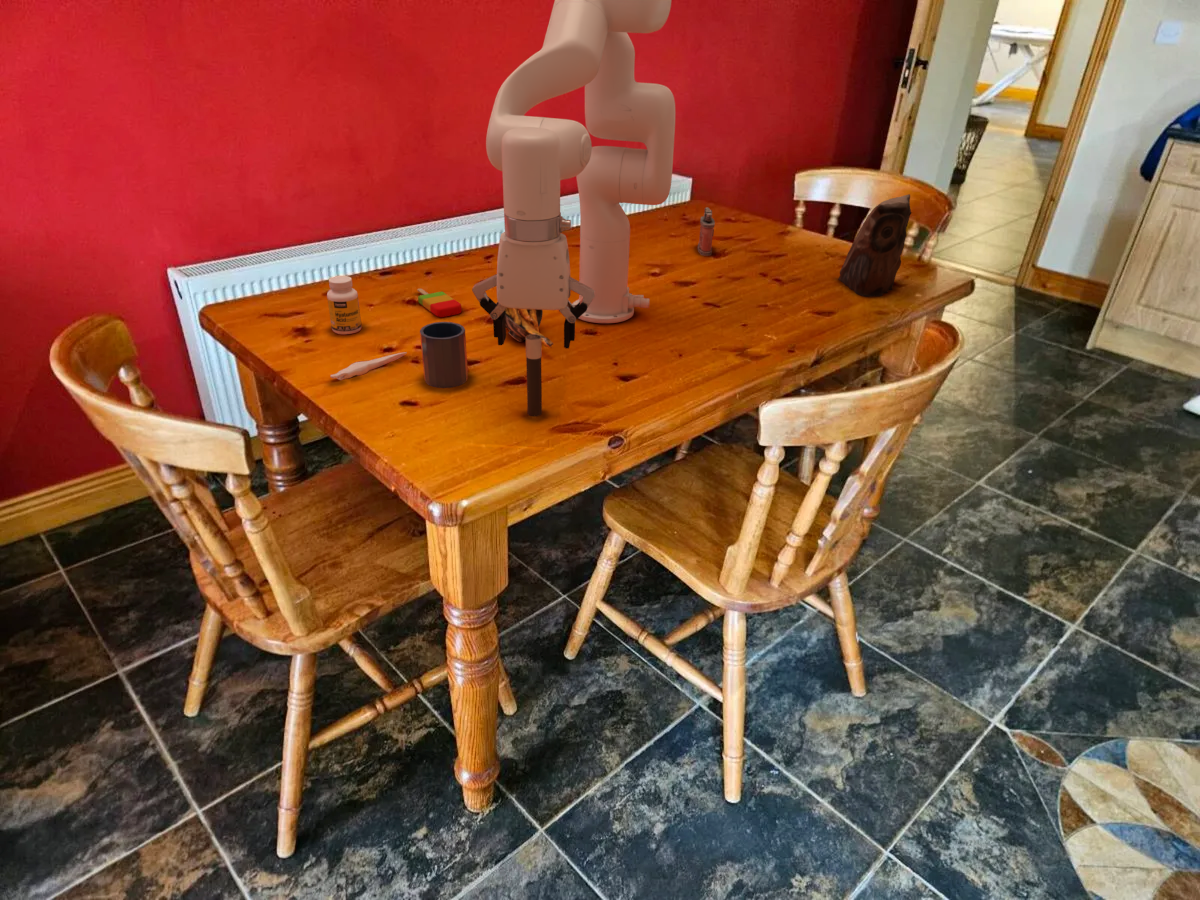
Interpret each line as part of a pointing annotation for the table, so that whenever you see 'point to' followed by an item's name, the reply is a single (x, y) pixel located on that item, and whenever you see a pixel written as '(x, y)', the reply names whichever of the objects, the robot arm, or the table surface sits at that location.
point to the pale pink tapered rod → (365, 366)
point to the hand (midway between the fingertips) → (534, 343)
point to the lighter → (706, 233)
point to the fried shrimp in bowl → (525, 324)
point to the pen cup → (444, 354)
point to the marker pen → (534, 374)
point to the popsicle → (439, 303)
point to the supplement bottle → (343, 306)
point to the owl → (877, 249)
